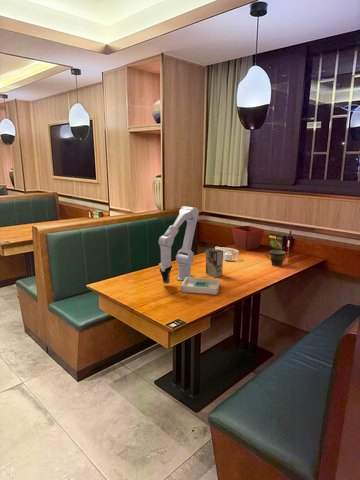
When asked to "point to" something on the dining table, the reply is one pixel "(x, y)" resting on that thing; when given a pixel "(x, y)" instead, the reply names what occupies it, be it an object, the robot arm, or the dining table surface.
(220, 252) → the coffee box
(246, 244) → the plant pot
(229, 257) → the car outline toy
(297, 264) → the dining table surface
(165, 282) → the cylinder
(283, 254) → the ceramic cup
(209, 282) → the walled box
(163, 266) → the robot arm
